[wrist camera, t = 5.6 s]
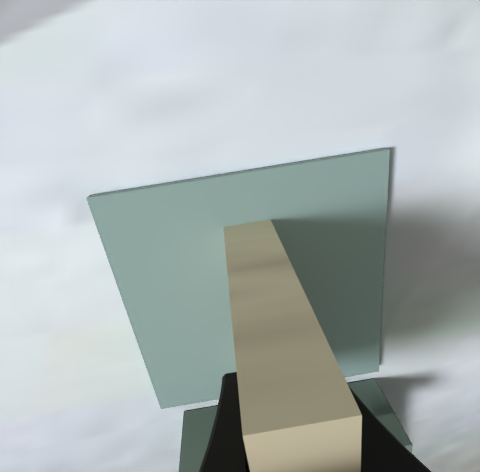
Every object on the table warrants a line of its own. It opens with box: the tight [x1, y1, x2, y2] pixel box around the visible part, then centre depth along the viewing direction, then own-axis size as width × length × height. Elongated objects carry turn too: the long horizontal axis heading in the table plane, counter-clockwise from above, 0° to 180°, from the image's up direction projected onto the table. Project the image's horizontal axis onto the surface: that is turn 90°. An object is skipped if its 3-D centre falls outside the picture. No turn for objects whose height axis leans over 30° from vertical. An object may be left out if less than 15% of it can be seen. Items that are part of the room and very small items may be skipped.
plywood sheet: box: [223, 219, 362, 472], centre depth 11 cm, size 8×2×9 cm, turn 8°
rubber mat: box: [87, 148, 390, 409], centre depth 15 cm, size 12×12×1 cm
